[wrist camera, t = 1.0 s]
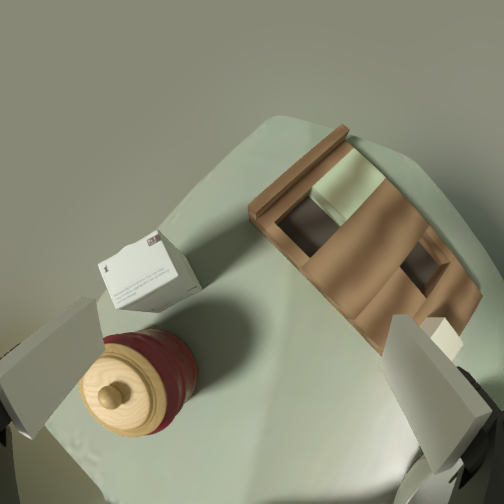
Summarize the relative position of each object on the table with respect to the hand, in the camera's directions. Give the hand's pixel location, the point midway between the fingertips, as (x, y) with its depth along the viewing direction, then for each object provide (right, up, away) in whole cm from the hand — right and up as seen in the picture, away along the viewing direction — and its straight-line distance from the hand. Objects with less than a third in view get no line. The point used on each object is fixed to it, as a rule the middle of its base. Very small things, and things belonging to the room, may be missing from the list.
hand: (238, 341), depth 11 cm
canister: (-14, -14, +29) cm, 35 cm away
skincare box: (-11, -1, +31) cm, 33 cm away
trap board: (+20, +2, +31) cm, 37 cm away
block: (+27, -10, +24) cm, 38 cm away
